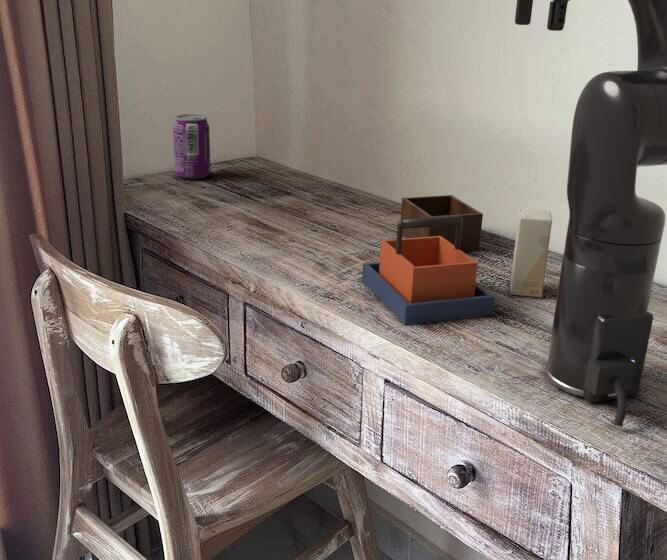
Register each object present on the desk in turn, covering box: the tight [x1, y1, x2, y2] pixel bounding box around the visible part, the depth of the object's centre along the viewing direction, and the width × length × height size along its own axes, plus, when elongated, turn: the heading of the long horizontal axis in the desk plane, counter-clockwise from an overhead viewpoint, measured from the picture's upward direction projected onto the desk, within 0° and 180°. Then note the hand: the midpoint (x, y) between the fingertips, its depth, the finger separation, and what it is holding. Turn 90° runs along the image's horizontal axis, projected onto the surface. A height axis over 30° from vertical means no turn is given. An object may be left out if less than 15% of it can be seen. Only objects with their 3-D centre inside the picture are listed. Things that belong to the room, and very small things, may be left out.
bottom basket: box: [400, 194, 484, 252], centre depth 131 cm, size 11×9×6 cm
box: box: [509, 208, 553, 298], centre depth 112 cm, size 5×4×11 cm
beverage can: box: [172, 113, 211, 180], centre depth 162 cm, size 7×7×12 cm
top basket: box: [379, 216, 479, 303], centre depth 108 cm, size 11×9×11 cm
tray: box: [361, 261, 496, 326], centre depth 109 cm, size 15×12×3 cm
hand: (538, 27), depth 114 cm, fingers open, 8 cm apart
